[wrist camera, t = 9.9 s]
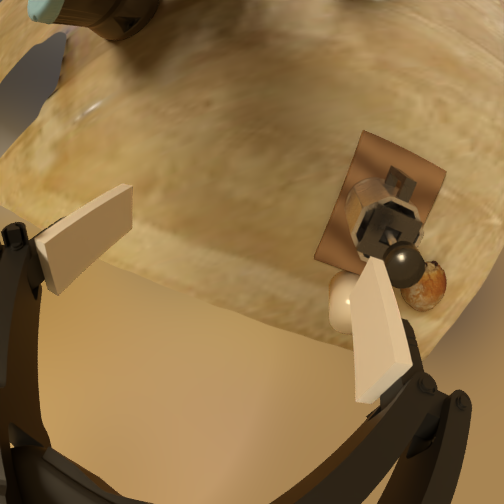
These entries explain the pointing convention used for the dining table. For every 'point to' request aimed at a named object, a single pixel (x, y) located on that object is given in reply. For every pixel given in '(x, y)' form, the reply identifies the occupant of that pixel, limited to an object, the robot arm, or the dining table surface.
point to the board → (377, 165)
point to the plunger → (399, 257)
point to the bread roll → (426, 288)
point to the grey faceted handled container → (382, 213)
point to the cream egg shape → (341, 300)
